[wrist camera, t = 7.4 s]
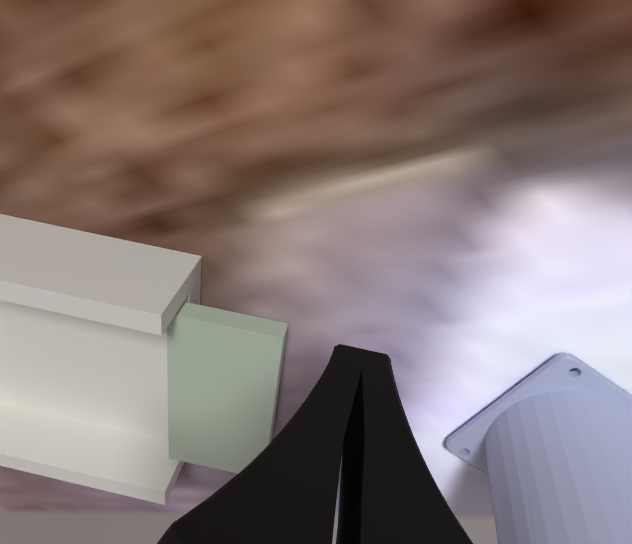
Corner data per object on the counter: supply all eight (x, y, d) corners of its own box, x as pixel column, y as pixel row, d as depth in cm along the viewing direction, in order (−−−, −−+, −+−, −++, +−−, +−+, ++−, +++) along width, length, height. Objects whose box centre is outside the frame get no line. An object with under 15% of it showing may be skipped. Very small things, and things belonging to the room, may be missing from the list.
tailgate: (180, 292, 23) (291, 315, 23) (180, 433, 29) (270, 454, 28) (166, 313, 22) (283, 338, 22) (168, 458, 27) (263, 479, 27)
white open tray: (201, 256, 24) (161, 315, 20) (196, 434, 30) (164, 504, 26) (-50, 203, 24) (-135, 250, 21) (-3, 389, 31) (-61, 450, 27)
